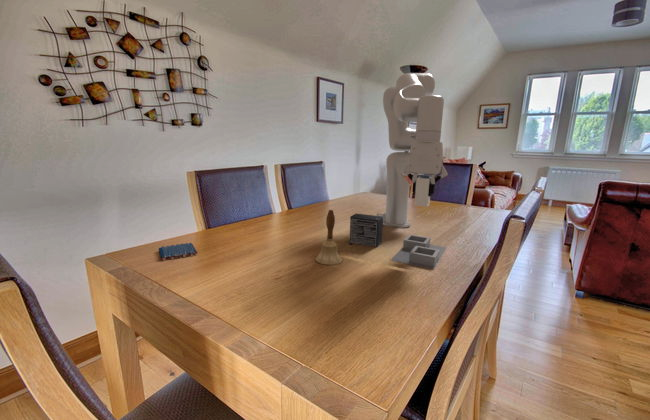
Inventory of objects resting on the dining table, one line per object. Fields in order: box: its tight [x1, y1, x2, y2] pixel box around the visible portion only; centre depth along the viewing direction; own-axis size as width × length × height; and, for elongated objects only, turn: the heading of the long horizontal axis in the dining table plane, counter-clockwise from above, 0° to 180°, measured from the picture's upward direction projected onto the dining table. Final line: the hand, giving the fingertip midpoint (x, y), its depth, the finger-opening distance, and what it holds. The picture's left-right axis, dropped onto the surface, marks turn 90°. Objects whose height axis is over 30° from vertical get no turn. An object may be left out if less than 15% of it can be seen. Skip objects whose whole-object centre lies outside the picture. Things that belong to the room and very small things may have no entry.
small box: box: [348, 213, 384, 248], centre depth 112 cm, size 11×6×10 cm, turn 65°
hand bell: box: [315, 209, 343, 266], centre depth 96 cm, size 8×8×16 cm
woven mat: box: [158, 242, 198, 262], centre depth 101 cm, size 10×11×2 cm
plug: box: [413, 174, 431, 208], centre depth 102 cm, size 4×4×10 cm
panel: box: [390, 233, 447, 270], centre depth 102 cm, size 13×22×4 cm, turn 150°
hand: (422, 194), depth 102 cm, fingers closed on plug, 4 cm apart
